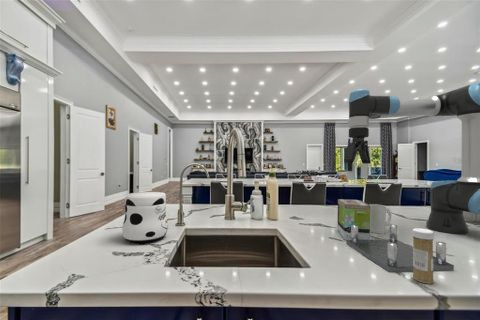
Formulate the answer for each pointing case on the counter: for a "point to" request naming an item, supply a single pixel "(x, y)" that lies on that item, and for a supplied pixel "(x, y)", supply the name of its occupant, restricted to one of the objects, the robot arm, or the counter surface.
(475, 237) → the counter surface
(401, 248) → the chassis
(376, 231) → the mug
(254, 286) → the counter surface
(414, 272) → the sprinkles bottle
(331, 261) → the counter surface
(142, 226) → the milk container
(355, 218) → the tea box
